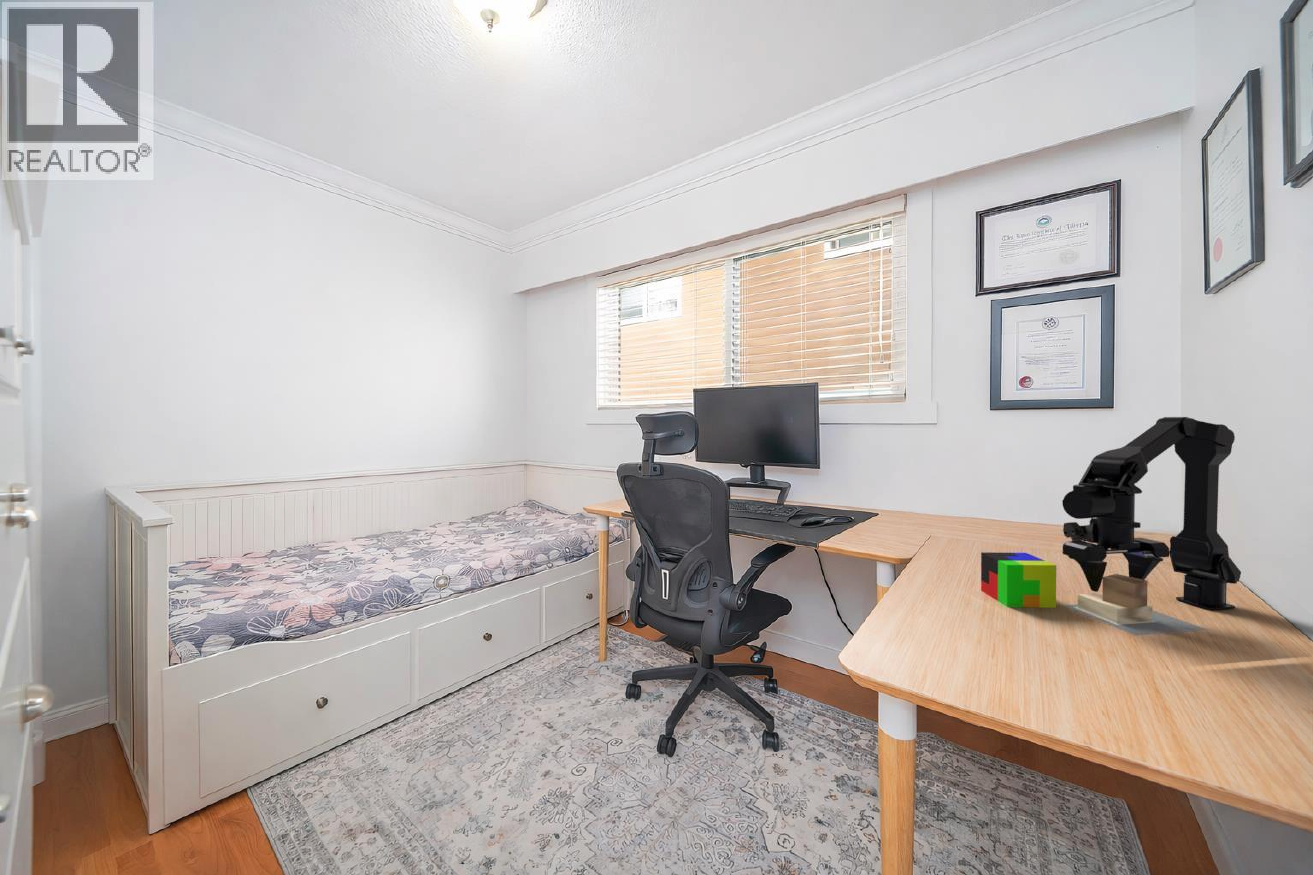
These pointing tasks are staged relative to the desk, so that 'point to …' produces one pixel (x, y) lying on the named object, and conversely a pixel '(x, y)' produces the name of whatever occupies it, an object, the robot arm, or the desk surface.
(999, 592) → the puzzle toy
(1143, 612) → the maple slab
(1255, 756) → the desk surface
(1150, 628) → the build mat
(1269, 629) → the desk surface
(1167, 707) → the desk surface
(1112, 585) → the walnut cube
